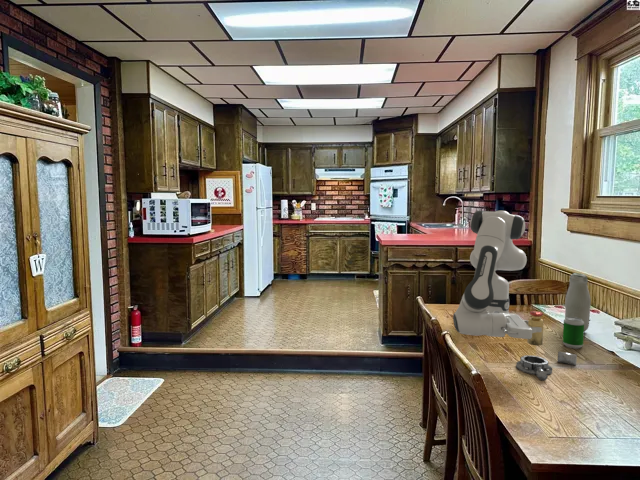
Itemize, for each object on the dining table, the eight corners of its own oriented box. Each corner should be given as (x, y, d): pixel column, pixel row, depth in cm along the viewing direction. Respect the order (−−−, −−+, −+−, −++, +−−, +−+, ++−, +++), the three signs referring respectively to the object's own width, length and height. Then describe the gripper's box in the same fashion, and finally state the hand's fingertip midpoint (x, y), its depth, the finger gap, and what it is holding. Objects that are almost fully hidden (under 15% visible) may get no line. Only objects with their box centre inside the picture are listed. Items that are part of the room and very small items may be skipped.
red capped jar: (524, 342, 159) (526, 312, 158) (532, 340, 162) (533, 310, 161) (537, 346, 155) (539, 315, 154) (545, 343, 158) (546, 313, 157)
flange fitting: (524, 379, 150) (524, 369, 150) (512, 361, 167) (513, 353, 166) (561, 382, 148) (562, 372, 148) (546, 363, 164) (546, 355, 164)
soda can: (585, 349, 179) (587, 321, 178) (566, 348, 180) (567, 320, 179) (578, 343, 186) (580, 316, 185) (560, 342, 188) (561, 316, 186)
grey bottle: (590, 331, 203) (593, 273, 200) (585, 336, 196) (589, 276, 193) (567, 327, 210) (570, 270, 207) (561, 331, 203) (564, 273, 200)
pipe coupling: (557, 363, 165) (557, 353, 165) (558, 359, 168) (559, 349, 168) (575, 367, 162) (575, 357, 161) (576, 362, 165) (576, 353, 164)
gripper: (505, 324, 150) (548, 326, 147) (493, 309, 170) (530, 311, 167) (504, 342, 151) (547, 344, 148) (492, 325, 171) (530, 327, 168)
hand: (538, 326), depth 158 cm, fingers closed on red capped jar, 5 cm apart
